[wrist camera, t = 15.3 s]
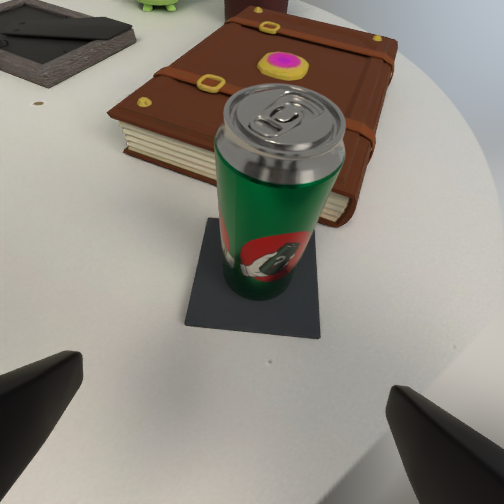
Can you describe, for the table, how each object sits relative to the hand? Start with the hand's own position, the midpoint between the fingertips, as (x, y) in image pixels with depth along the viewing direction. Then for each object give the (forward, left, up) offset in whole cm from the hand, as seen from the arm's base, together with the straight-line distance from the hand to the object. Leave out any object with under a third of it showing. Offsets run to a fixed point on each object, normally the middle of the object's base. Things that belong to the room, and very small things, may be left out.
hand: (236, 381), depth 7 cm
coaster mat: (+2, -8, -9) cm, 12 cm away
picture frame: (+46, -26, -9) cm, 54 cm away
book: (+10, -30, -9) cm, 33 cm away
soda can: (+2, -8, -9) cm, 12 cm away
